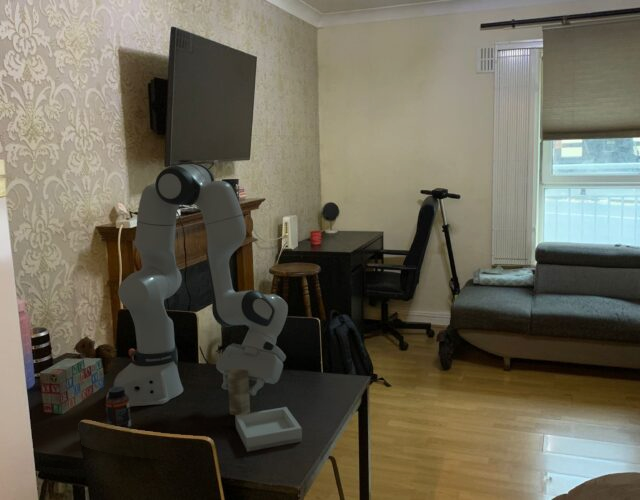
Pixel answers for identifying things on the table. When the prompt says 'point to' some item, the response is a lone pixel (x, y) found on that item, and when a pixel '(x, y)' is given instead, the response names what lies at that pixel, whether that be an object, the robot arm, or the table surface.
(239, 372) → the handle block
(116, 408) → the supplement bottle
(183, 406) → the table surface
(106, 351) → the stuffed squirrel
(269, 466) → the table surface
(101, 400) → the table surface
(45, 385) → the stack of blocks
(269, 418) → the tray
